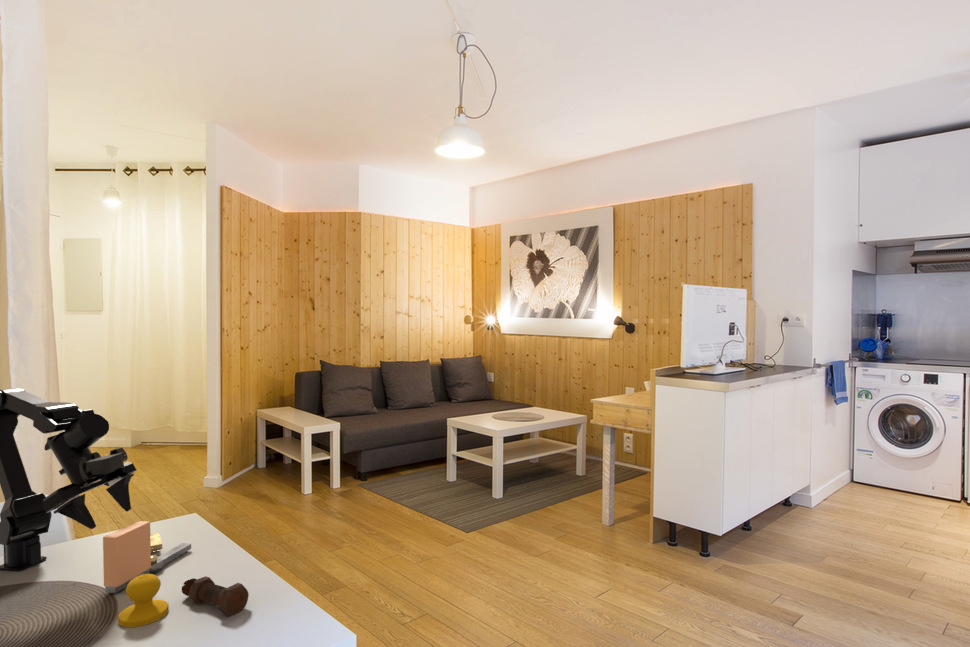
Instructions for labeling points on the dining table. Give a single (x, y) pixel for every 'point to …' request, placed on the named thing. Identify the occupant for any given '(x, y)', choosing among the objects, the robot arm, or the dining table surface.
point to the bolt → (217, 595)
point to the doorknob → (143, 602)
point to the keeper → (155, 542)
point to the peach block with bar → (132, 555)
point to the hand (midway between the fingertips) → (112, 518)
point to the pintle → (153, 559)
